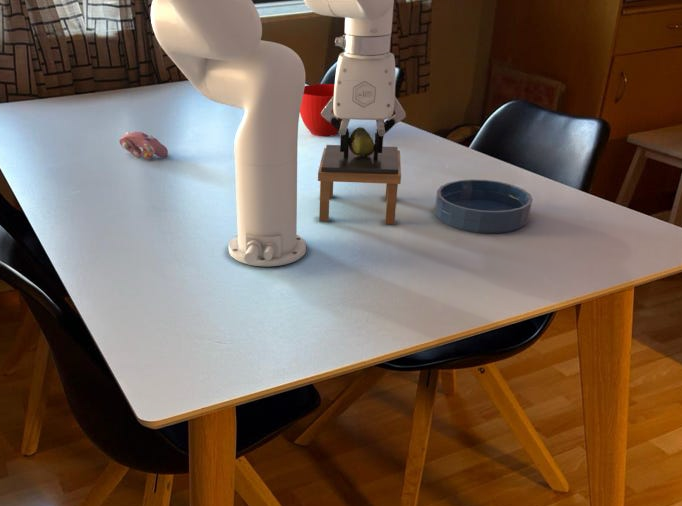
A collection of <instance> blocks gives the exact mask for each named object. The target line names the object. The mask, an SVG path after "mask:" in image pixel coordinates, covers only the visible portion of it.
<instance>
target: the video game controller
mask: <svg viewBox="0 0 682 506" xmlns="http://www.w3.org/2000/svg"><path fill="white" fill-rule="evenodd" d="M119 145H120V146H121V148H123V149H124V150H125V151H127V152H129V153H130V154H131V155H132V156H134V157H135V158H139V157H140V156H141V155H143V157H144V159H147V160H152V158H153V157H154V156H157V157H159V158H162V159H164V158H166V157H168V154H169V151H168V149H167V147H166V146H165V145H164V144H162V143H161V142H160V141H159V140H158V138H156V137H154V136H153V135H148V134H147V133H145V132H142V131H133V132H130V131H126V133H125V134H123V135H122V136H121V137H120V139H119Z"/></svg>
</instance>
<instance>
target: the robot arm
mask: <svg viewBox="0 0 682 506" xmlns="http://www.w3.org/2000/svg"><path fill="white" fill-rule="evenodd" d="M302 1H303V3H304V5H305V6H306V7H307V8H308V9H309V10H310V11H311V12H312V13H315V14H317V15H320V16H326V17H335V18H344V34H342V36H339V37H335V40H334V46H335V47H339V48H341V49H342V50H343V51H342V52H341V53H339V55H338V58H337V63H336V69H335V78H334V84H335V87H334V96H333V97H332V98H331V100H330V101H329V102H328V103H327V105H326V106H325V107H324V109H323V110H322V112H321V115H322V117H324V118H325V119H326V120H327V121H329V122H330V123H331V124H332V125H333V126H334V127H335V128H336V129H337V131H338V134H339V135H340V141H339V142H340V143H339V145H340V152H344V158H348V151H349V137H350V131H349V128H348V127H349V124H350V121H351V120H361V121H363V120H365V121H375V123H376V132H375V133H374V158H375V159H378V153H382V147H383V146H384V145H383V144H384V137H385V135H386V134H387V133H388V132H389V131H390V130H391V129H392V128H393V127H394V126H395V125H396V124H398V123H400V122H402V121H403V120H404V119H405V118H406V117H407V114H406V111H405V110H404V108H403V106H402V104H401V103H400V102H399V99H398V98H397V97H396V75H397V73H396V59H395V55H394V53H393V52H391V44H392V29H393V19H394V18H393V17H394V5H395V3H394V2H395V0H302ZM150 21H151V27H152V30H153V33H154V36H155V38H156V40H157V42H158V44H159V46H160V48H161V49H162V50H163V51H164V52H165V54H166V55H167V56H168V57H169V59H170V61H172V62H173V63H174V64H175V66H176V67H177V68H178V69H179V70H180V71H181V73H182V74H183V75H184V77H185V78H186V79H187V80H188V81H189V83H191V85H192V86H193V87H194V88H195V89H196V91H198V93H200V94H201V95H202V96H204V97H205V98H206V99H208V100H209V101H211V102H214V103H218V104H221V105H223V106H224V105H225V106H229V107H234V108H238V109H239V110H240V109H241V110H243V111H244V113H243V117H242V120H241V122H240V124H239V125H238V128H237V130H236V132H235V136H234V144H233V145H234V146H233V147H234V148H233V149H234V150H233V153H234V154H233V155H234V173H235V198H236V199H235V201H236V225H237V226H236V227H237V235H236V236H234V237H233V238H232V239H231V240H230V241H229V243H228V253H229V255H230V257H231V258H233V259H234V260H236V261H238V262H239V263H241V264H244V265H249V266H253V267H265V268H267V267H268V268H269V267H278V266H284V265H289V264H291V263H294V262H297V261H299V260H300V259H301V258H303V257H304V256H305V254H306V253H307V252H306V251H307V243H306V240H305V239H304V238H302V237H301V236H300V235H299V234H298V233H297V232H298V231H297V230H298V229H297V226H298V225H297V223H298V220H297V219H298V141H299V139H298V138H299V135H298V134H299V121H300V108H301V103H302V98H303V93H304V88H305V86H306V77H307V76H306V69H305V66H304V65H305V64H304V63H303V61H302V59H301V57H300V55H299V54H298V53H297V52H296V51H294V50H293V49H292V48H290V47H288V46H286V45H284V44H281V43H278V42H274V41H268V40H262V36H263V25H262V20H261V16H260V13H259V11H258V9H257V7H256V5H255V4H254V1H253V0H152V1H151V6H150ZM332 110H334V114H333V113H332V112H331V111H332ZM394 113H395V114H394ZM339 118H341V119H342V121H341V120H340V119H339Z"/></svg>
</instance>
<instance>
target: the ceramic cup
mask: <svg viewBox="0 0 682 506" xmlns="http://www.w3.org/2000/svg"><path fill="white" fill-rule="evenodd" d="M334 87H335V83H315V84H307V85H305V88H304V93H303V98H302V103H301V108H300V114H299V116H300V118H301V121H302V122H303V124H304V126H305V127H306V129H307V130H308V131H309V132H310V134H311V135H313V136H314V137H315V136H316V137H322V138H323V137H327V138H328V137H334V136H337V135H339V132H338V131H337V129H336V128H335V127H334V126H333V125H332V124H331V123H330V122H329V121H327V120H326V119H325V118H324V117H322V115H321V112H322V110H323V109H324V107H325V106H326V105H327V103H328V102H329V101H330V100H331V98H332V97H333V96H334ZM331 112H332V113H333V114H334V110H332V111H331ZM339 119H340V120H341V121H342V119H341V118H339Z"/></svg>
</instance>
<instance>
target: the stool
mask: <svg viewBox="0 0 682 506" xmlns="http://www.w3.org/2000/svg"><path fill="white" fill-rule="evenodd" d="M398 149H399V147H398V146H384V145H383V147H382V153H378V159H375V158H374V152H373V153H372V154H371V155H369V156H359V155H355V154H354V153H352V152H351V150H350V148H349V151H348V158H344V152H340V144H326V147H324V148H323V150H322V156H321V159H320V163H319V166H318V172H317V182H319V213H318V215H319V216H318V217H319V218H318V221H319V222H325V223H328V222H329V220H330V199H333V197H334V183H358V184H359V183H362V184H385V196H384V201H385V202H386V204H385V217H384V225H395V221H396V220H395V219H396V209H397V199H398V198H397V197H398V187H399V185H401V182H402V167H401V150H400V149H399V150H398Z"/></svg>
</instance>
